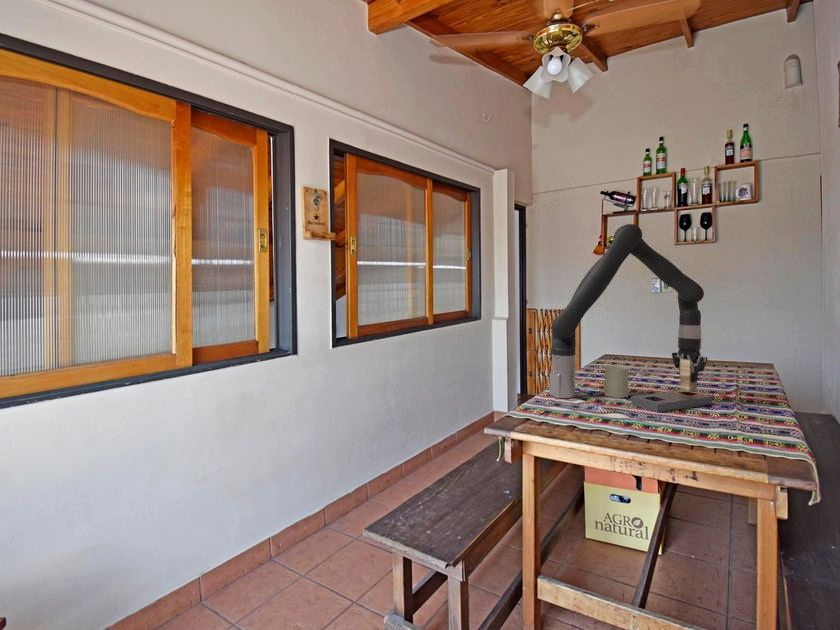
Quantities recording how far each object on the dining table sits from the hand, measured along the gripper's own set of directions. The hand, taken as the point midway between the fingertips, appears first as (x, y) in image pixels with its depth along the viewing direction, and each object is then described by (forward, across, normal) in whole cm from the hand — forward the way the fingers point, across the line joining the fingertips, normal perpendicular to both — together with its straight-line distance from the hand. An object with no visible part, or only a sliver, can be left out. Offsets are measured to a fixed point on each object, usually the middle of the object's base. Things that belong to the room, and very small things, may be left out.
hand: (688, 380), depth 176 cm
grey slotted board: (+8, 0, -8) cm, 12 cm away
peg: (+4, 0, 0) cm, 4 cm away
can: (+8, -19, -17) cm, 27 cm away
